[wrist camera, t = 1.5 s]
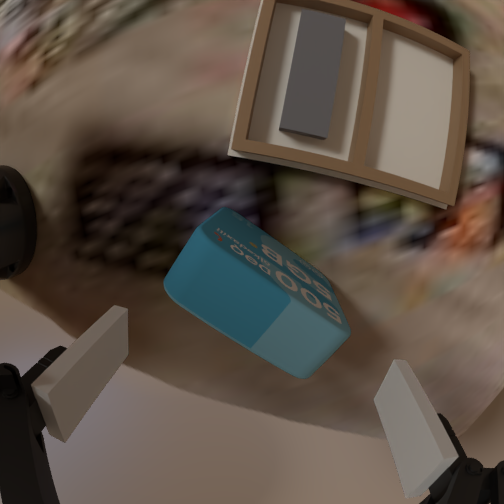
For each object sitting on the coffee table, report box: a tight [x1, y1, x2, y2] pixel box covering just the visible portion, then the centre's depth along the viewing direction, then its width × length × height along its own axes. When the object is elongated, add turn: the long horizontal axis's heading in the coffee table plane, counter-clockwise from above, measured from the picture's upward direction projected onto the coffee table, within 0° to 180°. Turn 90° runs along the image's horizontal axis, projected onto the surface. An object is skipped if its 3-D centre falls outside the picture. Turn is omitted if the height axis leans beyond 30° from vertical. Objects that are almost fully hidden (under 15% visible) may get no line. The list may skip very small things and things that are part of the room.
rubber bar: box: [279, 9, 346, 140], centre depth 22 cm, size 4×12×2 cm, turn 170°
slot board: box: [228, 0, 470, 209], centre depth 23 cm, size 22×18×3 cm
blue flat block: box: [164, 207, 351, 379], centre depth 23 cm, size 12×4×12 cm, turn 55°
